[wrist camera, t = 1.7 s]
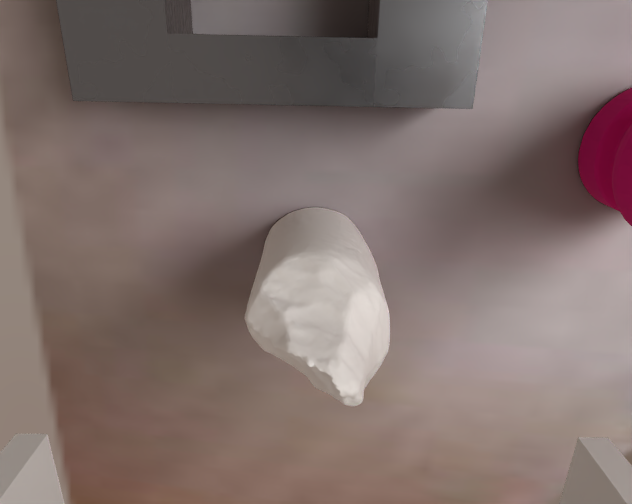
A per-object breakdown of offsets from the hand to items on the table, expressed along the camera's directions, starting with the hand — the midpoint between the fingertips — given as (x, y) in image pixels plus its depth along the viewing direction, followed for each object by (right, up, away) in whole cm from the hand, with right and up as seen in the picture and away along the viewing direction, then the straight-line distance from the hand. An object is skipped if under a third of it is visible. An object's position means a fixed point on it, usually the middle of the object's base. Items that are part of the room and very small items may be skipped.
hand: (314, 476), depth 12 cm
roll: (0, +6, +14) cm, 15 cm away
